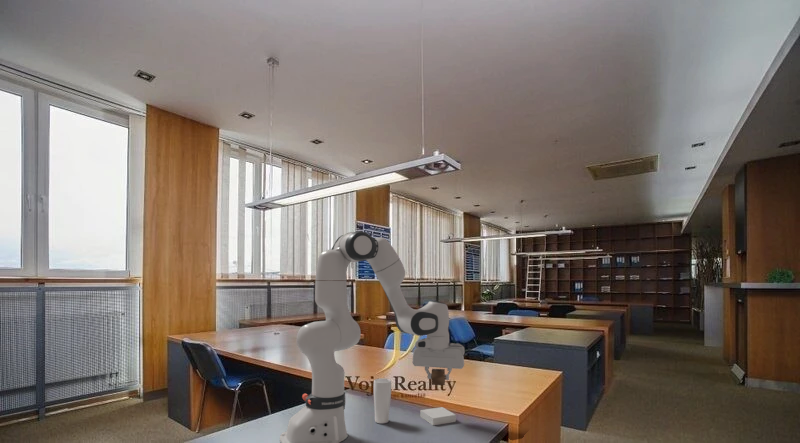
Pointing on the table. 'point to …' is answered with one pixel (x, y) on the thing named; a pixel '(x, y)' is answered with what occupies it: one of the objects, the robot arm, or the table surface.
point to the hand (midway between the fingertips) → (438, 379)
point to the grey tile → (437, 416)
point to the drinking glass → (382, 399)
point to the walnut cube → (438, 376)
